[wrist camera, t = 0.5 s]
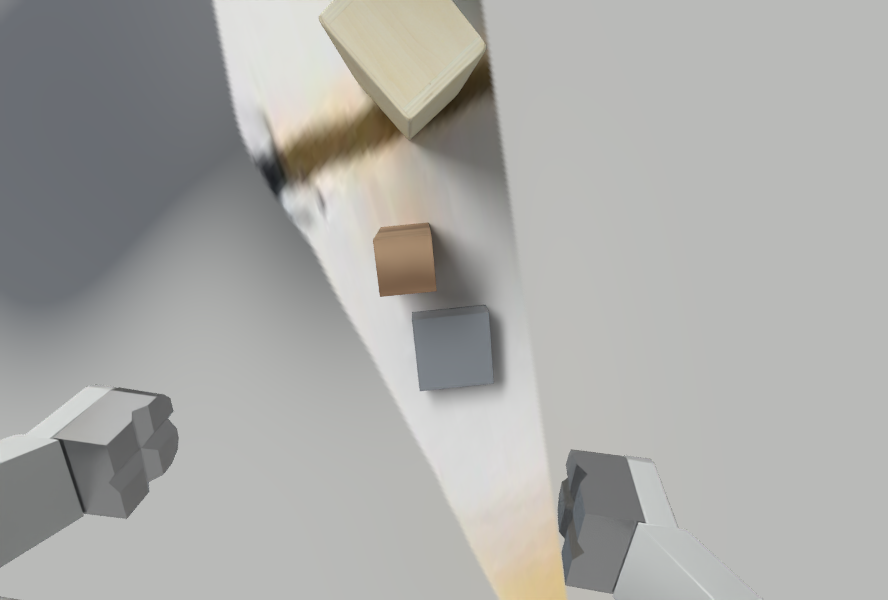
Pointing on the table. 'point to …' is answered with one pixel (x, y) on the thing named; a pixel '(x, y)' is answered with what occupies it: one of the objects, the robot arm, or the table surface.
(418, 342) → the base brick
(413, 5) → the tall pale wood block
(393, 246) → the walnut brick
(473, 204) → the table surface
